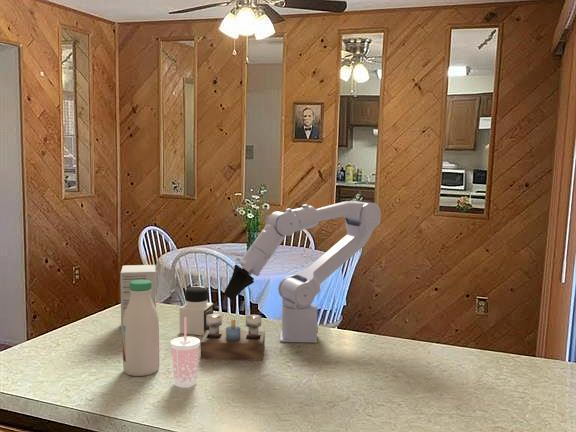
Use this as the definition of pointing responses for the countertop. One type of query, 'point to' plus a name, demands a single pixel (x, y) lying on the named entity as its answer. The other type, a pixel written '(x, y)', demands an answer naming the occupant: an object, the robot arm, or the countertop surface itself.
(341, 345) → the countertop surface
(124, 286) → the supplement box
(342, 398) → the countertop surface
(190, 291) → the medicine bottle
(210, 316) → the knob
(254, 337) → the knob
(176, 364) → the beverage cup
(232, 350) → the mount
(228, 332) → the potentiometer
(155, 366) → the milk bottle
